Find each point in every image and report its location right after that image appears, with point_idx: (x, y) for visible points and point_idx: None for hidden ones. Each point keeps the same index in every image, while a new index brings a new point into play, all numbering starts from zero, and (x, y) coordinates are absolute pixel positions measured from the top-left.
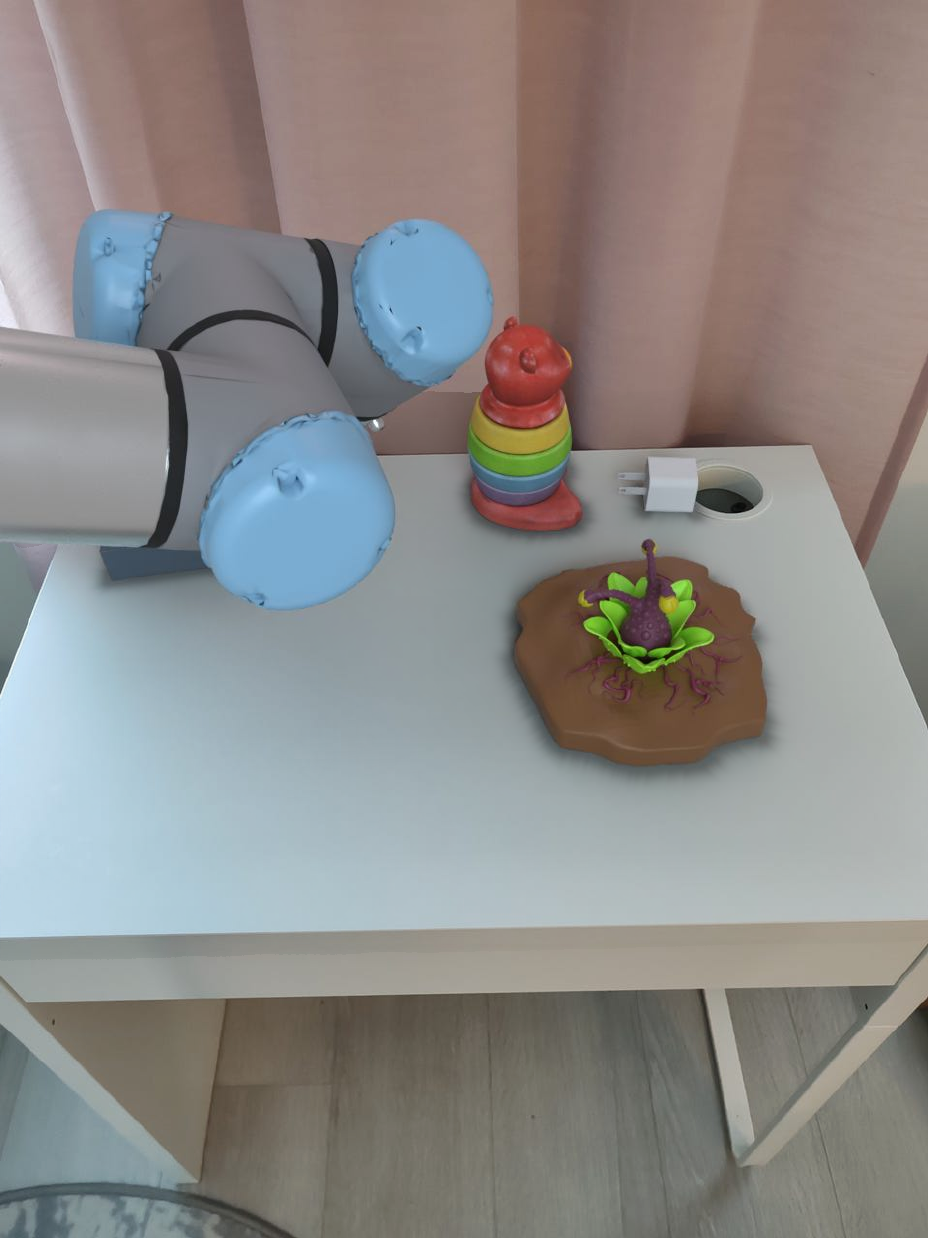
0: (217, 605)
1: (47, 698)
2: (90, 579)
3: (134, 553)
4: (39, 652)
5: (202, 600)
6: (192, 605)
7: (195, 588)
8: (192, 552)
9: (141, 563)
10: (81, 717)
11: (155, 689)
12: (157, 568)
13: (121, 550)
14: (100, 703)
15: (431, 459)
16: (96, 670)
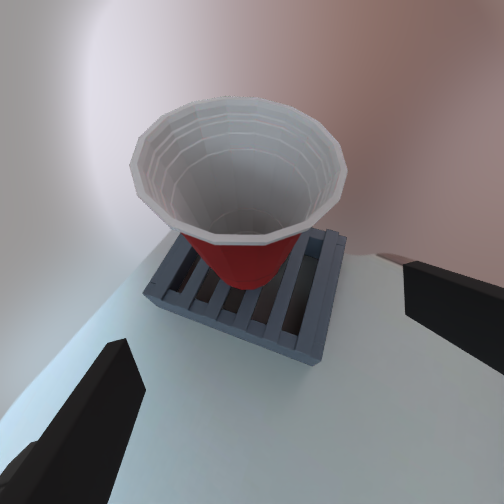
0: (220, 393)
1: (30, 426)
2: (144, 295)
3: (171, 306)
4: (64, 358)
5: (211, 377)
6: (200, 378)
7: (212, 356)
8: (221, 327)
9: (178, 311)
10: None
11: None
12: (191, 318)
13: (159, 300)
14: None
15: None
16: None
